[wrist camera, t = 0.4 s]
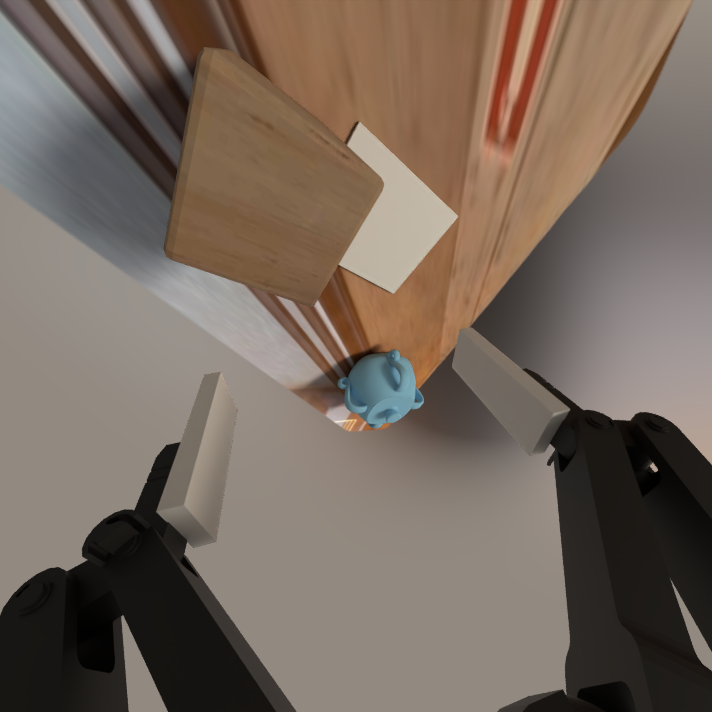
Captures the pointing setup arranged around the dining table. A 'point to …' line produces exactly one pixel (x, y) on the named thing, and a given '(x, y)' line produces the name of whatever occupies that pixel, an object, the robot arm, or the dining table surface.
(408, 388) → the decorative pot
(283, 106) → the wooden block
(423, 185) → the mat
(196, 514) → the robot arm
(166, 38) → the dining table surface
